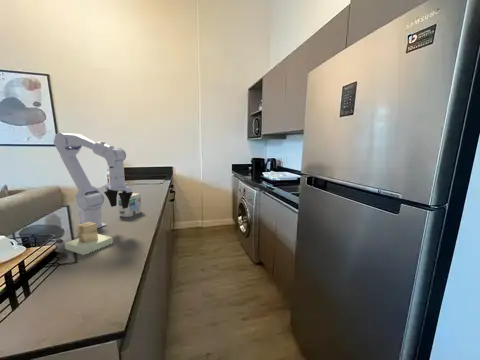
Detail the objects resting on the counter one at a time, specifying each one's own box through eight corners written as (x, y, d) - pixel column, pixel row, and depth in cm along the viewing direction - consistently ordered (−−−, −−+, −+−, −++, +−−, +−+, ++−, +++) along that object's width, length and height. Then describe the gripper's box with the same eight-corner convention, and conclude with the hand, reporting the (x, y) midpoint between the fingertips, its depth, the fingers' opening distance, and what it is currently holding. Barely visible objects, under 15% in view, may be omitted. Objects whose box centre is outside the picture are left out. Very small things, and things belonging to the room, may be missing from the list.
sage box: (65, 250, 88) (64, 242, 87) (95, 239, 98) (94, 232, 97) (83, 256, 83) (83, 248, 83) (113, 244, 93) (112, 237, 92)
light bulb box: (130, 217, 126) (128, 197, 124) (118, 216, 127) (117, 196, 126) (142, 211, 136) (141, 193, 135) (131, 211, 138) (130, 192, 136)
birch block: (78, 240, 89) (77, 225, 88) (91, 236, 93) (89, 221, 92) (85, 243, 87) (83, 227, 86) (98, 238, 91) (96, 223, 90)
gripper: (97, 176, 104) (100, 207, 106) (120, 178, 97) (122, 211, 99) (112, 174, 110) (114, 203, 112) (134, 176, 103) (136, 207, 105)
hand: (119, 207), depth 106 cm, fingers open, 7 cm apart
